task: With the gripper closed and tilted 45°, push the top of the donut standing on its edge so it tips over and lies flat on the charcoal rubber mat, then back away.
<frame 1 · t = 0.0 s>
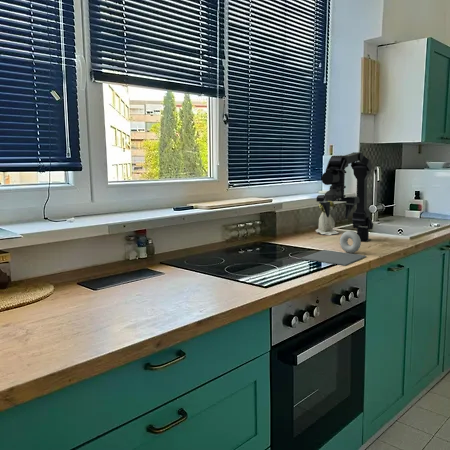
hand: (337, 218, 203), 15 cm above the worktop, tool pointing down, fingers open, 9 cm apart
white figurine: (327, 233, 248), on the worktop
donut: (349, 253, 198), on the worktop
mat: (333, 257, 189), on the worktop
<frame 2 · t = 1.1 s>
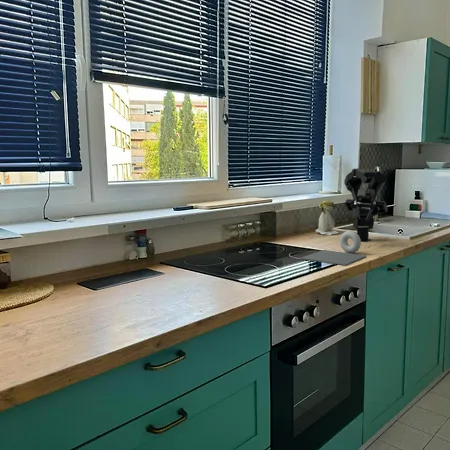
hand: (360, 220, 203), 14 cm above the worktop, tool tilted 45°, fingers open, 6 cm apart
nothing on the worktop moved.
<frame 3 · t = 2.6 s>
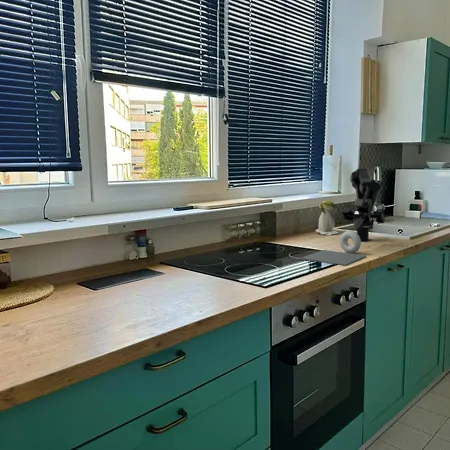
hand: (357, 230, 201), 9 cm above the worktop, tool tilted 45°, fingers closed
nothing on the worktop moved.
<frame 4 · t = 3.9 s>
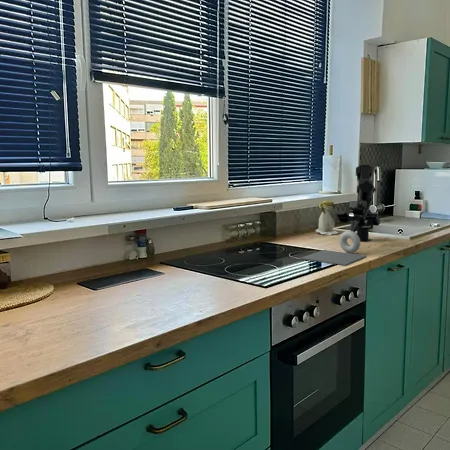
hand: (351, 232, 198), 9 cm above the worktop, tool tilted 45°, fingers closed
donut: (349, 253, 198), on the worktop, touching gripper
everything else where it was.
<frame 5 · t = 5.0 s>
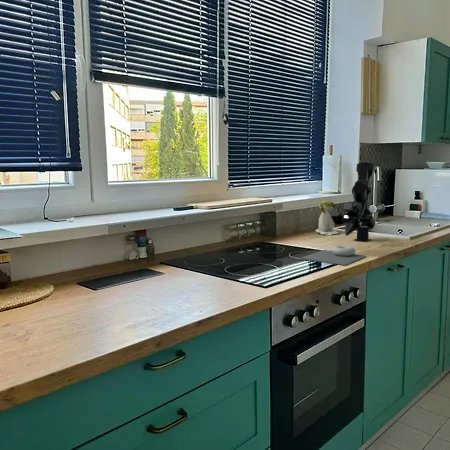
hand: (346, 234, 194), 9 cm above the worktop, tool tilted 45°, fingers closed
donut: (348, 248, 197), point 2 cm above the worktop, touching mat
everything else where it was.
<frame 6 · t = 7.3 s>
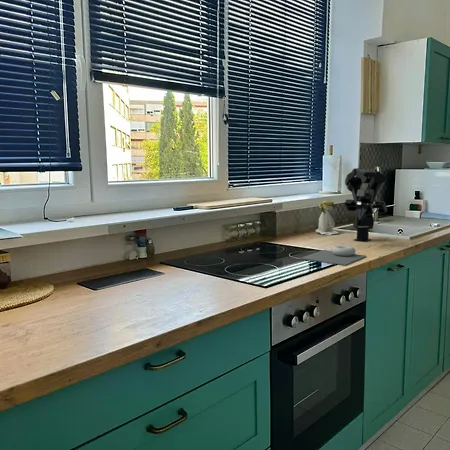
hand: (359, 220, 203), 13 cm above the worktop, tool tilted 45°, fingers closed
nothing on the worktop moved.
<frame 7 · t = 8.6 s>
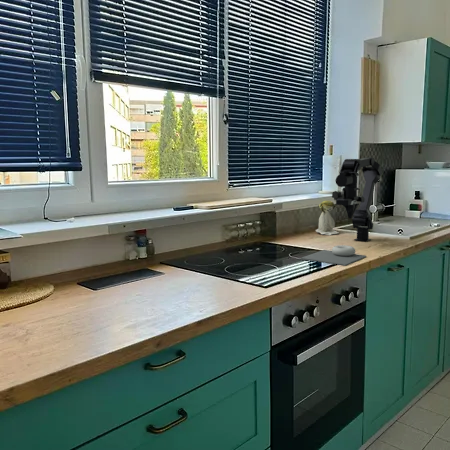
hand: (349, 218, 213), 13 cm above the worktop, tool pointing down, fingers closed
nothing on the worktop moved.
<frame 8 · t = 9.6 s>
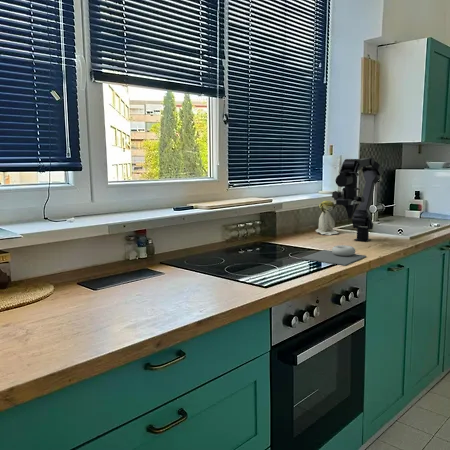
hand: (349, 218, 213), 13 cm above the worktop, tool pointing down, fingers closed
nothing on the worktop moved.
at the end: donut tilted 91°; donut touching mat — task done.
